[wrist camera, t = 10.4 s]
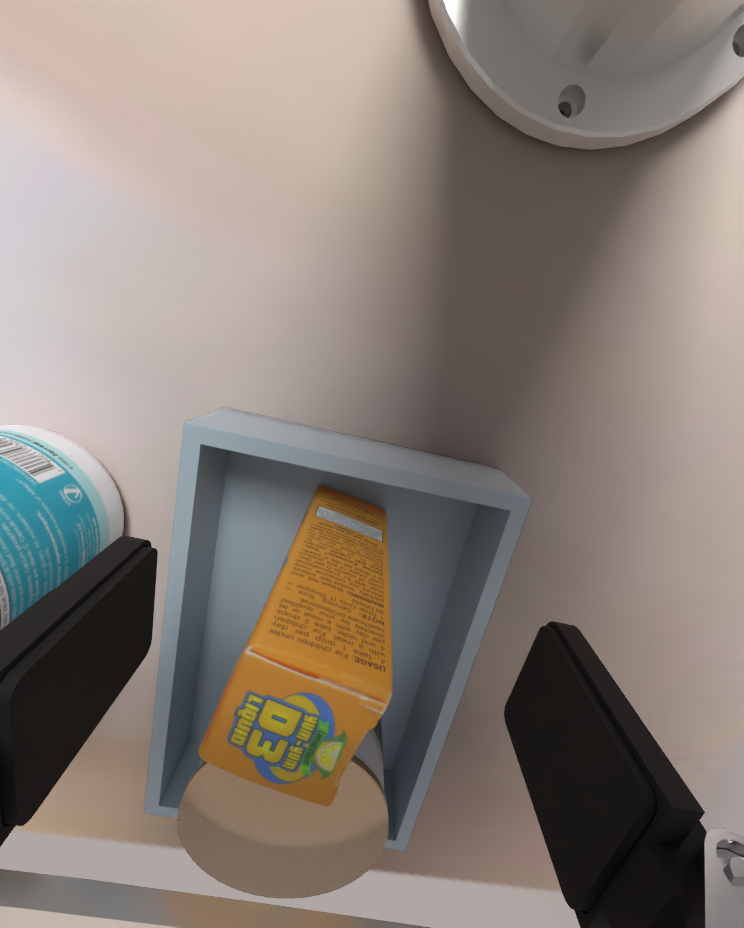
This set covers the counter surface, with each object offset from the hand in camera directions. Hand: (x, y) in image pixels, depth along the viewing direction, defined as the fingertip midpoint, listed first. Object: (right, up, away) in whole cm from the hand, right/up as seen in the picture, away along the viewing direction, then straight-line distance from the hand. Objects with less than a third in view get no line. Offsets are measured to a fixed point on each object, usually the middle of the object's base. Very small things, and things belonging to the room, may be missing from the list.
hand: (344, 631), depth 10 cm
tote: (-2, -3, +10) cm, 10 cm away
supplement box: (-1, +1, +8) cm, 8 cm away
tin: (-2, -7, +10) cm, 12 cm away
